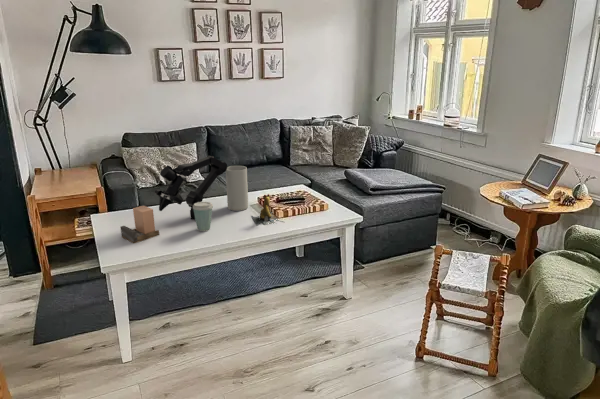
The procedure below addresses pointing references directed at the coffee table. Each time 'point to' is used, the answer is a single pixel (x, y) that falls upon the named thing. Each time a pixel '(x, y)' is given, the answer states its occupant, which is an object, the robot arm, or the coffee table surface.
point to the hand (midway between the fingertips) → (159, 210)
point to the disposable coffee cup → (203, 215)
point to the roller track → (140, 238)
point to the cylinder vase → (237, 188)
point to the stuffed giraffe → (265, 213)
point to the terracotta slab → (144, 219)
